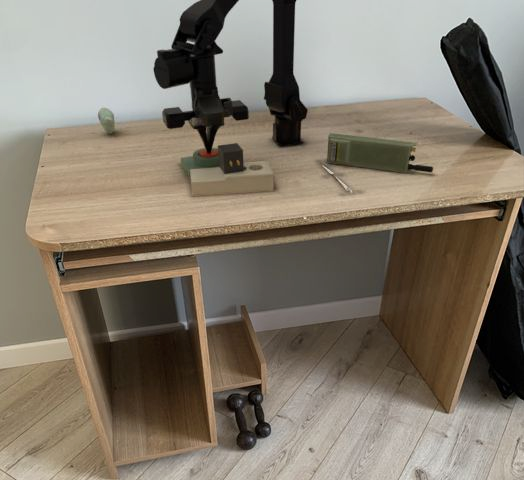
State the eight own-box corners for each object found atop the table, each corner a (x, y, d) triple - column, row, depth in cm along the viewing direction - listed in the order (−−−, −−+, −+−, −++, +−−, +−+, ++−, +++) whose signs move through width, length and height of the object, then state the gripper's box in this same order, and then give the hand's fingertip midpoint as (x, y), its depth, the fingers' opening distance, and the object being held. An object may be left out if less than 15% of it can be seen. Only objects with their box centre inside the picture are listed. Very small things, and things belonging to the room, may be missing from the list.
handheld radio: (329, 158, 126) (432, 172, 119) (325, 164, 123) (430, 178, 117) (331, 131, 121) (438, 143, 114) (327, 136, 119) (437, 149, 112)
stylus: (326, 156, 124) (359, 188, 111) (326, 160, 125) (359, 192, 111) (311, 159, 124) (342, 191, 110) (311, 163, 124) (342, 195, 111)
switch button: (215, 155, 123) (215, 148, 122) (220, 161, 120) (220, 154, 119) (197, 157, 122) (197, 150, 121) (202, 164, 119) (201, 157, 117)
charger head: (237, 163, 113) (237, 142, 110) (245, 173, 109) (244, 151, 106) (218, 166, 112) (217, 145, 109) (226, 176, 108) (224, 154, 105)
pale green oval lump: (117, 137, 138) (112, 111, 133) (102, 139, 137) (96, 113, 133) (116, 128, 144) (111, 102, 139) (101, 129, 143) (96, 104, 139)
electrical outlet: (189, 165, 113) (269, 160, 115) (191, 182, 116) (269, 177, 118) (190, 178, 108) (274, 172, 110) (192, 196, 111) (273, 190, 112)
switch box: (228, 157, 127) (227, 143, 124) (239, 171, 120) (238, 156, 118) (181, 164, 124) (179, 150, 121) (189, 178, 117) (188, 164, 115)
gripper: (167, 94, 101) (177, 170, 112) (255, 85, 106) (257, 159, 116) (157, 80, 109) (167, 153, 120) (239, 72, 114) (242, 143, 124)
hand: (208, 152), depth 120 cm, fingers closed, pressing on switch button
